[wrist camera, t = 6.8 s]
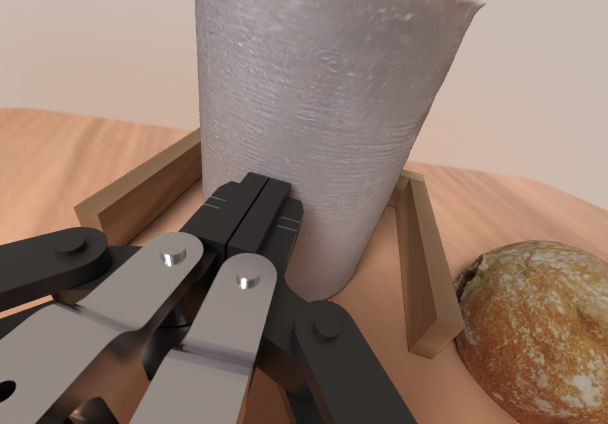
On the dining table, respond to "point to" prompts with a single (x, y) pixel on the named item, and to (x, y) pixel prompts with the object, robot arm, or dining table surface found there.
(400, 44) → the pillar candle
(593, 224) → the dining table surface
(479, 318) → the bread roll
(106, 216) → the brown wooden u-shaped frame
